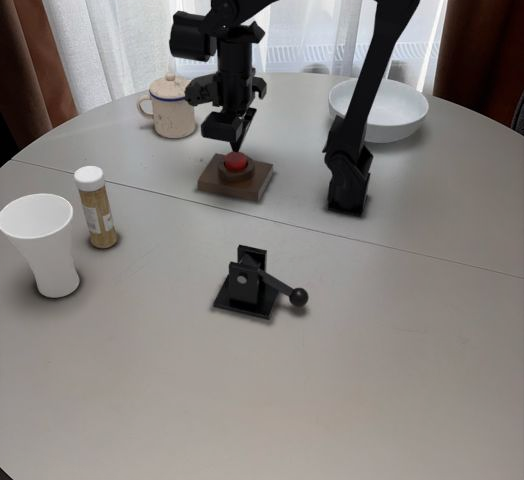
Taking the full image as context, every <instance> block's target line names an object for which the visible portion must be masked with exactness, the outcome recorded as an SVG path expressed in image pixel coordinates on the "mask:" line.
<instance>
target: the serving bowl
mask: <svg viewBox="0 0 524 480" xmlns="http://www.w3.org/2000/svg"><path fill="white" fill-rule="evenodd" d="M358 78H359V77H356V78H349V79H347V80H344V81H341V82H339V83H337V84H336V85H334V86H333V87H332V88H331V89H330V91H329V93H328V97H327V98H328V99H327V101H328V102H327V103H328V110H329V114H330V117H331V119H332V122H333V121H334V119H335V116H336V115H338V116H340V117H342V118H343V117H344V116H345V114H346V113H347V110H348V107H349V104H350V101H351V98H352V95H353V92H354V89H355V86H356V84H357V81H358ZM429 110H430V104H429V101H428V99H427V98H426V97H425V95H424V94H422V92H420V90H418V89H416V88H414V87H412V86H411V85H408V84H406V83H405V82H404V83H403V82H401V81H397V80H395V79H394V80H393V79H390V78H384V77H383V78H382V81H381V84H380V86H379V89H378V92H377V94H376V97H375V100H374V102H373V105H372V108H371V110H370V113H369V116H368V121H367V130H366V135H365V141H364V142H369V143H374V144H376V143H377V144H386V143H393V142H398V141H401V140H403V139H406V138H408V137H409V136H411V135H413V134H414V133H416V131H417V130H419V128H420V127H421V126H422V125H423V123H424V122H425V119H426V118H427V116H428V113H429Z"/></svg>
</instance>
